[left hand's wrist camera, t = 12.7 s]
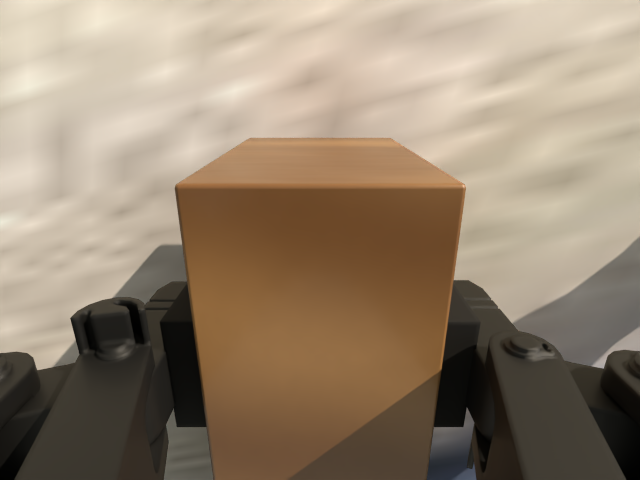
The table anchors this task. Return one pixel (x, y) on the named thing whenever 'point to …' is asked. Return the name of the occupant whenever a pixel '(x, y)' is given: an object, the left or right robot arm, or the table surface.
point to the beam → (320, 305)
